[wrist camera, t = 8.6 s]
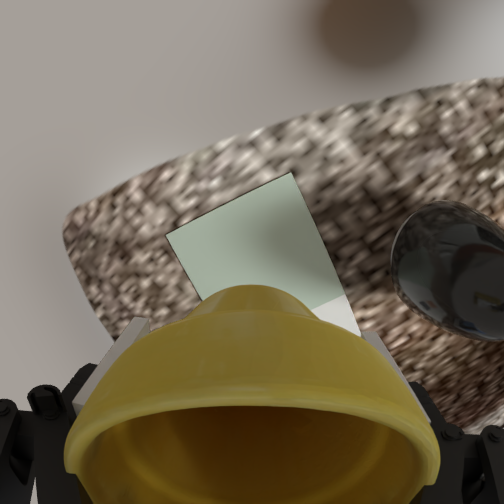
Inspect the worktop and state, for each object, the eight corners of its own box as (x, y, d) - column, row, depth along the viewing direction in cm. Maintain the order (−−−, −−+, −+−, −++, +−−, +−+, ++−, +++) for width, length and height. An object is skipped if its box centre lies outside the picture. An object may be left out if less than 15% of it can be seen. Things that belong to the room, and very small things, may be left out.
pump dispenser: (397, 317, 30) (473, 415, 15) (358, 227, 27) (449, 290, 13) (474, 267, 28) (571, 329, 13) (444, 177, 26) (565, 196, 11)
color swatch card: (381, 390, 32) (381, 390, 32) (284, 429, 34) (284, 429, 33) (290, 172, 26) (290, 172, 26) (166, 234, 28) (165, 235, 28)
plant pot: (382, 372, 16) (452, 515, 6) (220, 438, 17) (202, 578, 8) (302, 200, 14) (395, 278, 4) (114, 303, 15) (-2, 435, 6)
